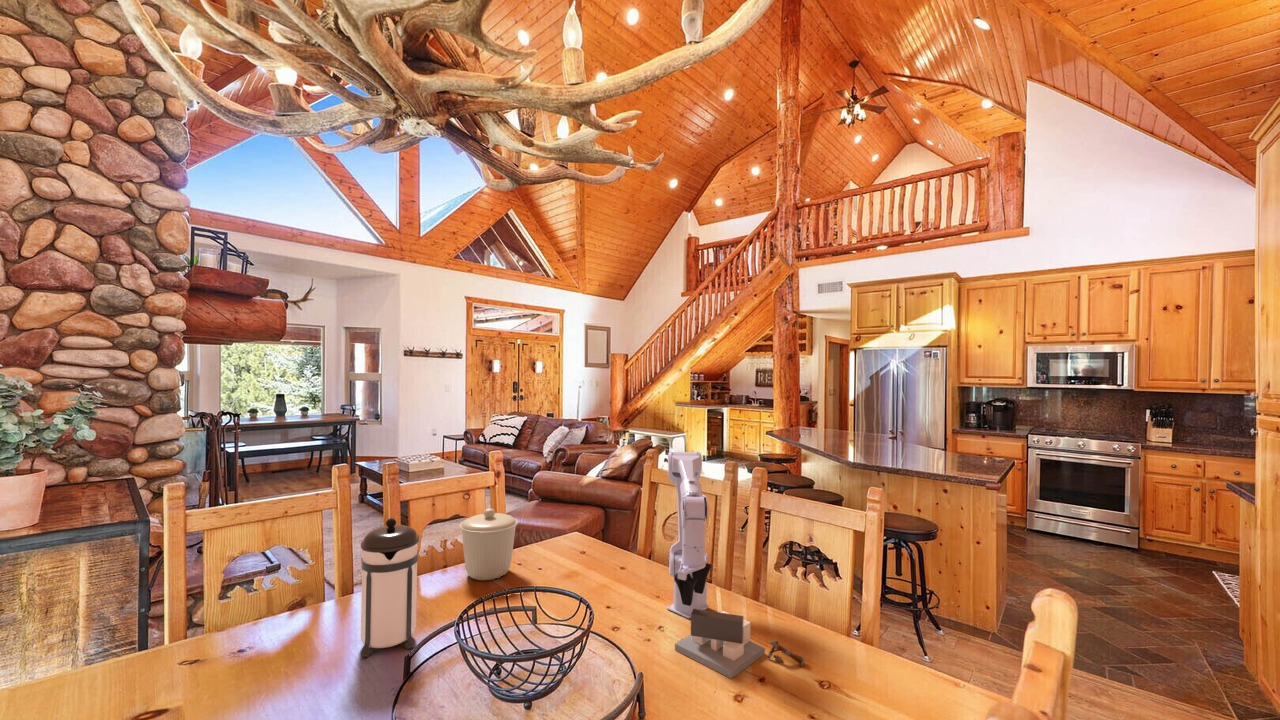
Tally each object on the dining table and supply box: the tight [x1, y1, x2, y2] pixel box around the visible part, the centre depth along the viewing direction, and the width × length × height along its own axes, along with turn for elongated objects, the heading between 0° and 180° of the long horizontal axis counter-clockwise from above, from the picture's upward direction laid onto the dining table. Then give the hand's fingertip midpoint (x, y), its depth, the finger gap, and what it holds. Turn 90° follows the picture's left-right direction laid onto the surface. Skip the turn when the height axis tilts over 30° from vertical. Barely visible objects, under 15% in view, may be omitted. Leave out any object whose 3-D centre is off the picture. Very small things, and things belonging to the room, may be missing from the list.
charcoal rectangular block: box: [690, 609, 744, 644], centre depth 122 cm, size 3×12×5 cm, turn 74°
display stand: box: [674, 610, 766, 679], centre depth 123 cm, size 14×16×6 cm
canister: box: [459, 507, 519, 581], centre depth 166 cm, size 18×18×21 cm
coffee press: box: [360, 517, 420, 659], centre depth 126 cm, size 17×16×30 cm
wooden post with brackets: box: [766, 640, 806, 667], centre depth 119 cm, size 2×8×4 cm, turn 74°
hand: (692, 598), depth 130 cm, fingers open, 7 cm apart
